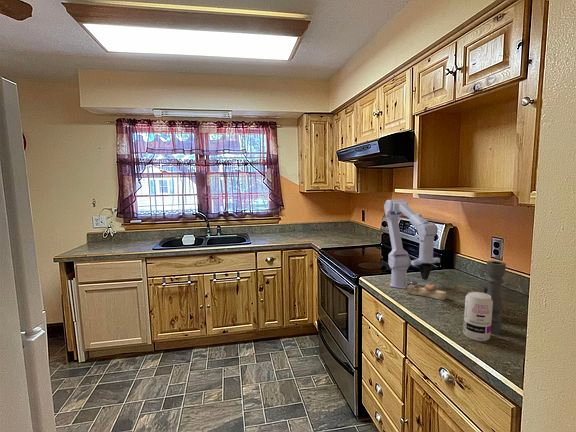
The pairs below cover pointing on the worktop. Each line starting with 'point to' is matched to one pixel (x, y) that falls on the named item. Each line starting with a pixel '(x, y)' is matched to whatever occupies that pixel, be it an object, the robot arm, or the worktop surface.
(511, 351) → the worktop surface
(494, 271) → the candle holder
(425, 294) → the link
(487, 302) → the supplement can
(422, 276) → the robot arm
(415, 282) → the pintle
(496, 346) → the worktop surface
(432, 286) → the keeper
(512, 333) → the worktop surface
